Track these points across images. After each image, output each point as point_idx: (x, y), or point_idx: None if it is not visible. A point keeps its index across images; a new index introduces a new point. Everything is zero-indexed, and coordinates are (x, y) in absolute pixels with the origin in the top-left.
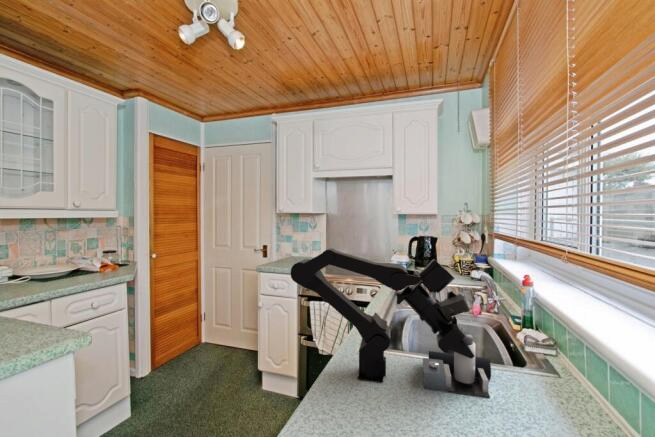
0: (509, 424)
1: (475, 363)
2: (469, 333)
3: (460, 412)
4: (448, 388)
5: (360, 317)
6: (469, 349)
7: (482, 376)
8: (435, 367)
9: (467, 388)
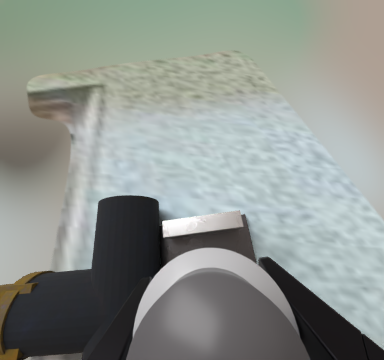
0: (330, 185)
1: (142, 243)
2: (165, 313)
3: (357, 296)
4: None
5: None
6: (320, 299)
7: (219, 225)
8: None
9: None
